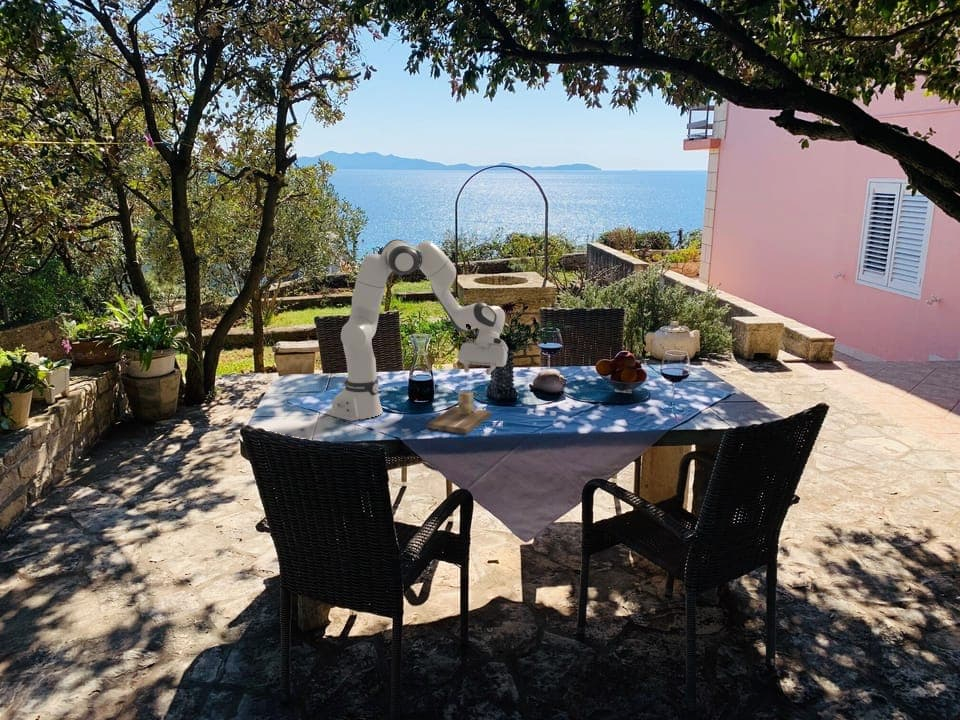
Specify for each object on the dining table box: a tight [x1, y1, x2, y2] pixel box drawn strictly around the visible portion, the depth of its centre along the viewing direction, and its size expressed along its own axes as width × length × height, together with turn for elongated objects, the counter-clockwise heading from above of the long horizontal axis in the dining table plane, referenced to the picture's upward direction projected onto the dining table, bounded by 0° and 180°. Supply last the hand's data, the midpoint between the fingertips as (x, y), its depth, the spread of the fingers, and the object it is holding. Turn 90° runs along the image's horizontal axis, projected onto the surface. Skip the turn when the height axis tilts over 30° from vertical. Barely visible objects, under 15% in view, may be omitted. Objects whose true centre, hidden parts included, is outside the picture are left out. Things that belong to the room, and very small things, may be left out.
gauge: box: [457, 390, 475, 415], centre depth 263 cm, size 6×4×8 cm, turn 65°
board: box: [427, 405, 492, 435], centre depth 259 cm, size 16×21×2 cm
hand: (476, 373), depth 270 cm, fingers open, 8 cm apart
